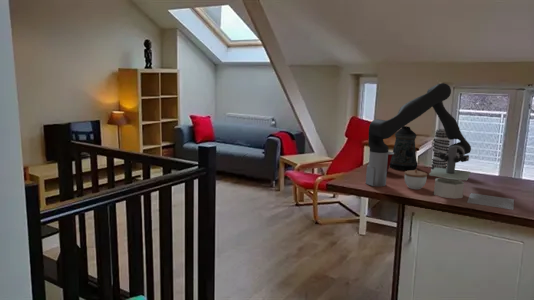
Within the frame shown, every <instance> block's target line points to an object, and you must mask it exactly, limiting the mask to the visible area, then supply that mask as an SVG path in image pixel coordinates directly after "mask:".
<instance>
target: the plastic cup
mask: <svg viewBox="0 0 534 300" xmlns="http://www.w3.org/2000/svg"><path fill="white" fill-rule="evenodd" d="M393 154H394V153H393V151H390V150H388V163H387V173H388V172H389V169H390V162H391V158H392V156H393Z"/></svg>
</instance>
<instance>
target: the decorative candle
mask: <svg viewBox="0 0 534 300" xmlns="http://www.w3.org/2000/svg"><path fill="white" fill-rule="evenodd" d="M434 132H435V134H434V138H433V139H432V141H433V143H432V152H433V154H432V159H431V164H430V165H431V167H430V172H431V171H432V170H433V169H434V168H435V167H436V168H444V169H447V161H445V160H442V159H440V158H439V152H442V153H443V154H445V153H447V151H448V149H449V146H450V145H451V144H450V142H451V140H449V139H448V137H447V135H446V132H445V130H444V128H438V129H436V130H435V131H434Z"/></svg>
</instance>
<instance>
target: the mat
mask: <svg viewBox="0 0 534 300" xmlns="http://www.w3.org/2000/svg"><path fill="white" fill-rule="evenodd" d="M514 201H515V199H514V198H513V199H512V198H507V197H499V196H493V195H487V194H481V193H480V194H479V193H473V192H471V193H470V194H469V196H468V199H467V201H466V203H467V204H473V205H480V206H486V207H492V208H499V209H505V210H510V211H511V210H512V211H514V205H515V203H514Z"/></svg>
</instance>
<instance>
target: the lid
mask: <svg viewBox="0 0 534 300" xmlns="http://www.w3.org/2000/svg"><path fill="white" fill-rule="evenodd" d="M448 147H449V146H448ZM456 154H457V148H456V147H449V148H448V159H447V164H446V166H447V167H446V169H444V168H436V167H435V168H434V169H433V170H432V171H431V170H430V172H429V173H428V176H431V177H436V178H437V177H438V178H452V179H457V180H461V181H468V179H469V178H470V175H471V172H472V171H467V170H461V169H460V170H458V169H456V163H455V158H456Z"/></svg>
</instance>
